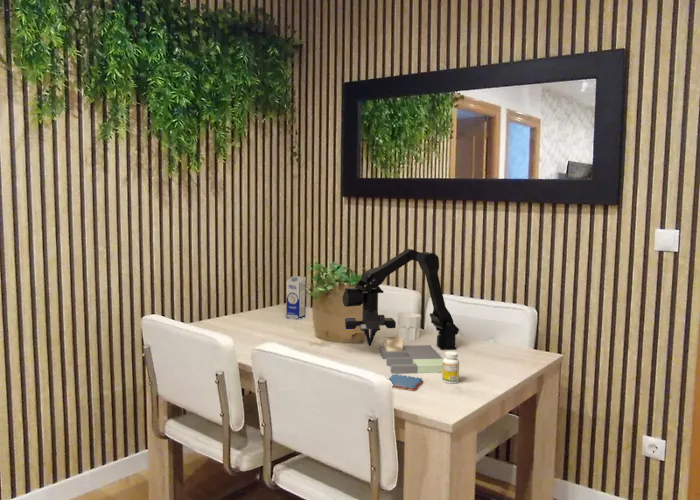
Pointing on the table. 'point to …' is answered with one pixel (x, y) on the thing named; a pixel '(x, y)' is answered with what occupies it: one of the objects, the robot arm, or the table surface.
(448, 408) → the table surface
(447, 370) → the supplement bottle
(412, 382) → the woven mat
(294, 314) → the milk carton
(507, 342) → the table surface
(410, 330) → the cup
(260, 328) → the table surface
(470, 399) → the table surface
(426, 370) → the board
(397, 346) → the maple block
